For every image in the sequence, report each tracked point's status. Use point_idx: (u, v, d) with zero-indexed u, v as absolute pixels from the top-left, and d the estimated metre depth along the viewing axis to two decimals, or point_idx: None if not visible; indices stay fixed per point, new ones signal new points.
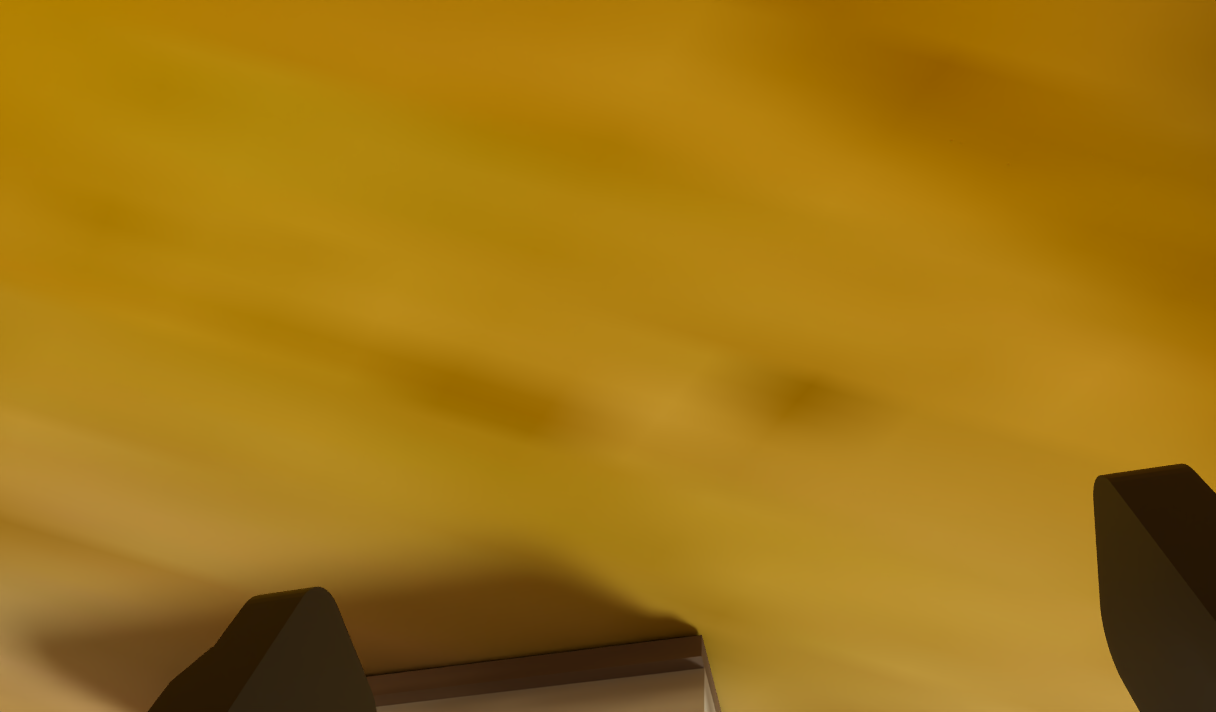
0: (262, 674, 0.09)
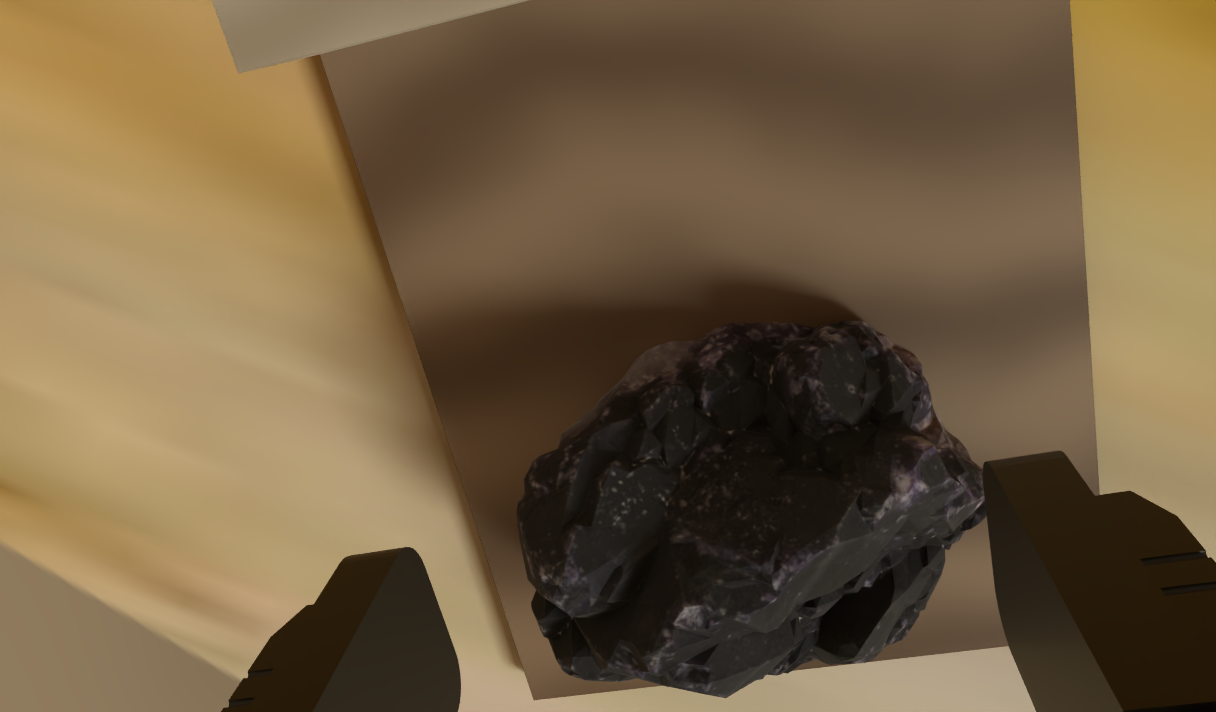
0: (367, 626, 0.09)
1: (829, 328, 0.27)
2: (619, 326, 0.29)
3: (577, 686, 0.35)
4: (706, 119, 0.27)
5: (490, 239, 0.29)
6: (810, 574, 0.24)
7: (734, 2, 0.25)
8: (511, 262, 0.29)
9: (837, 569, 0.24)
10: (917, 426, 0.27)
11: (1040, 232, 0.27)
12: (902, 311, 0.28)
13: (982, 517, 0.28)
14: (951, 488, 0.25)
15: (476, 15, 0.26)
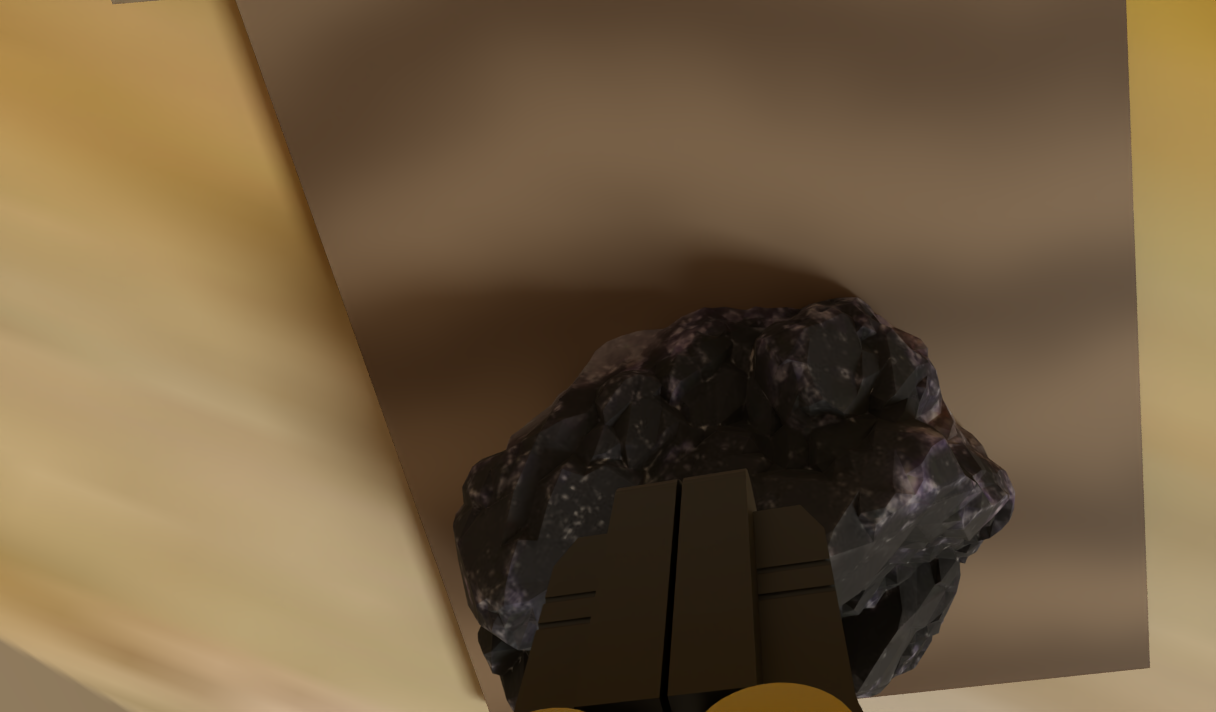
0: (673, 550, 0.09)
1: (818, 305, 0.23)
2: (589, 315, 0.25)
3: None
4: (688, 70, 0.23)
5: (439, 213, 0.25)
6: None
7: None
8: (462, 240, 0.25)
9: None
10: (923, 418, 0.23)
11: (1082, 204, 0.23)
12: (918, 298, 0.24)
13: (1003, 524, 0.24)
14: (966, 488, 0.21)
15: None
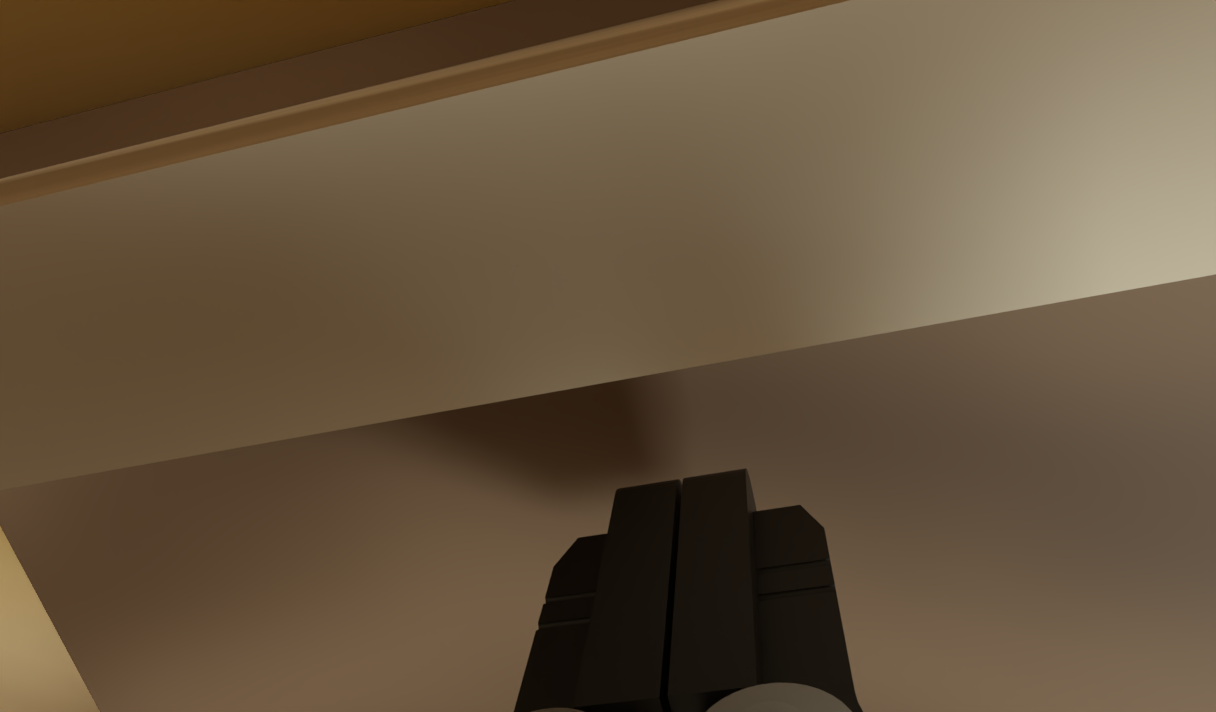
0: (673, 550, 0.09)
1: None
2: None
3: None
4: None
5: (298, 699, 0.14)
6: None
7: None
8: None
9: None
10: None
11: None
12: None
13: None
14: None
15: None
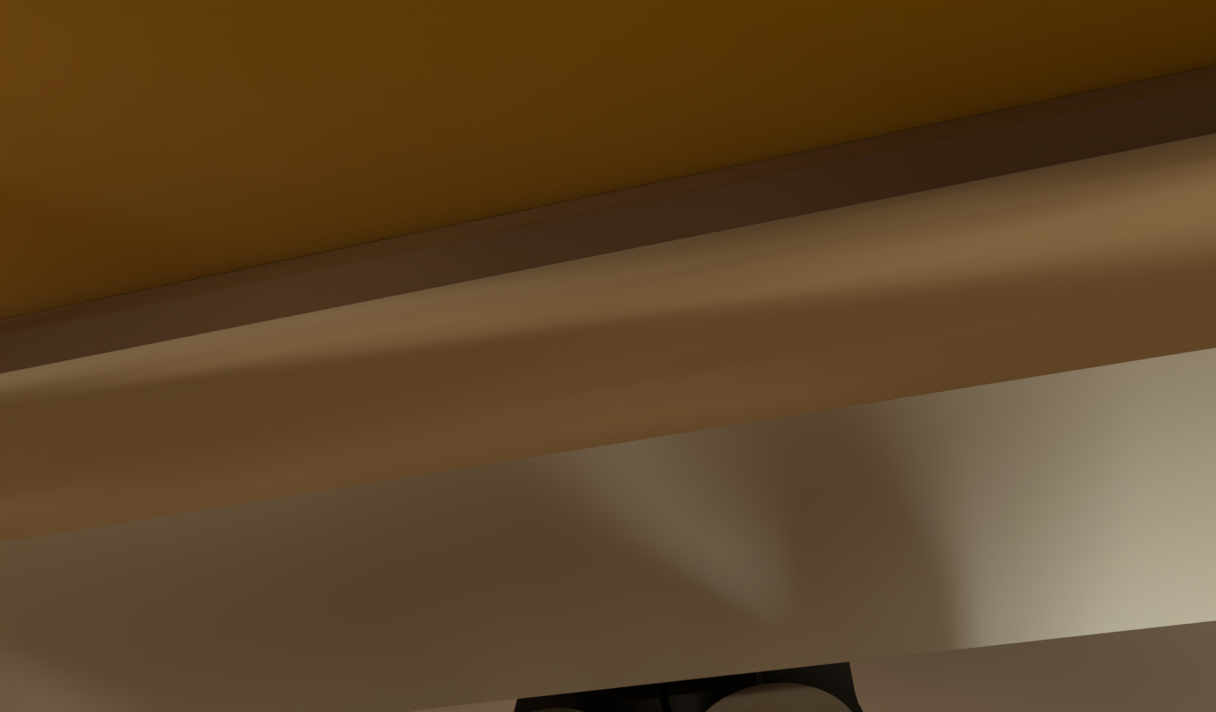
0: None
1: None
2: None
3: None
4: None
5: None
6: None
7: None
8: None
9: None
10: None
11: None
12: None
13: None
14: None
15: None
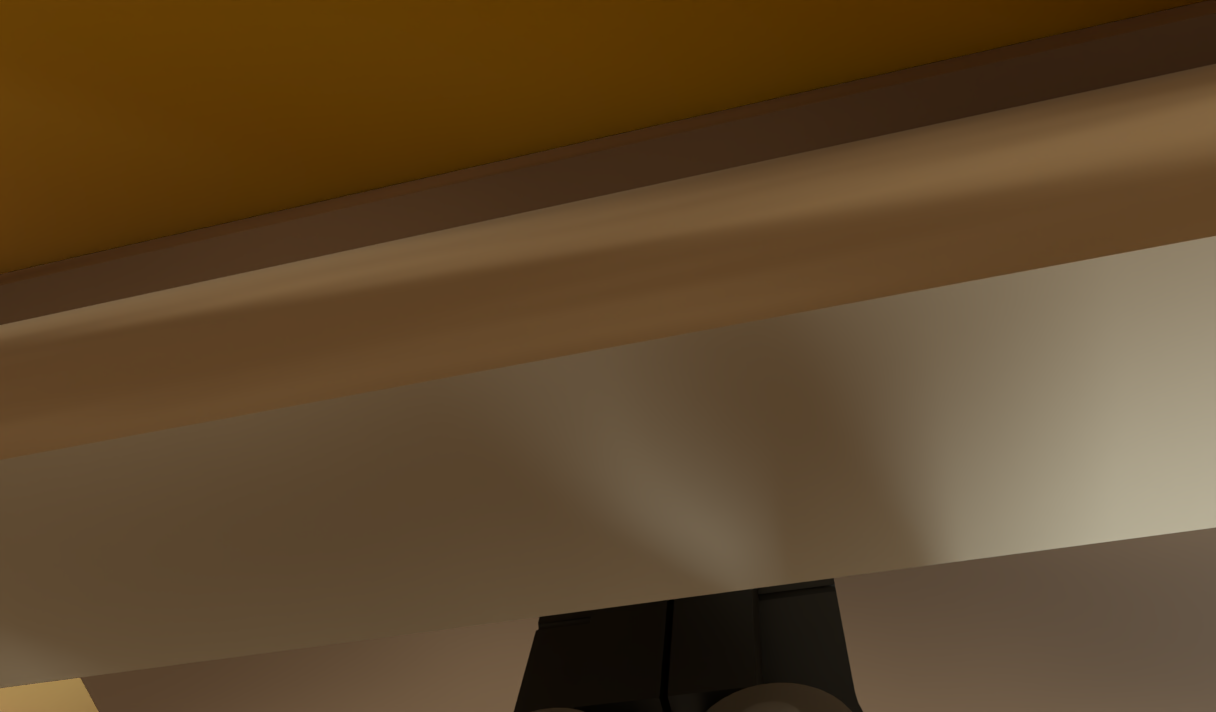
0: None
1: None
2: None
3: None
4: None
5: None
6: None
7: None
8: None
9: None
10: None
11: None
12: None
13: None
14: None
15: None
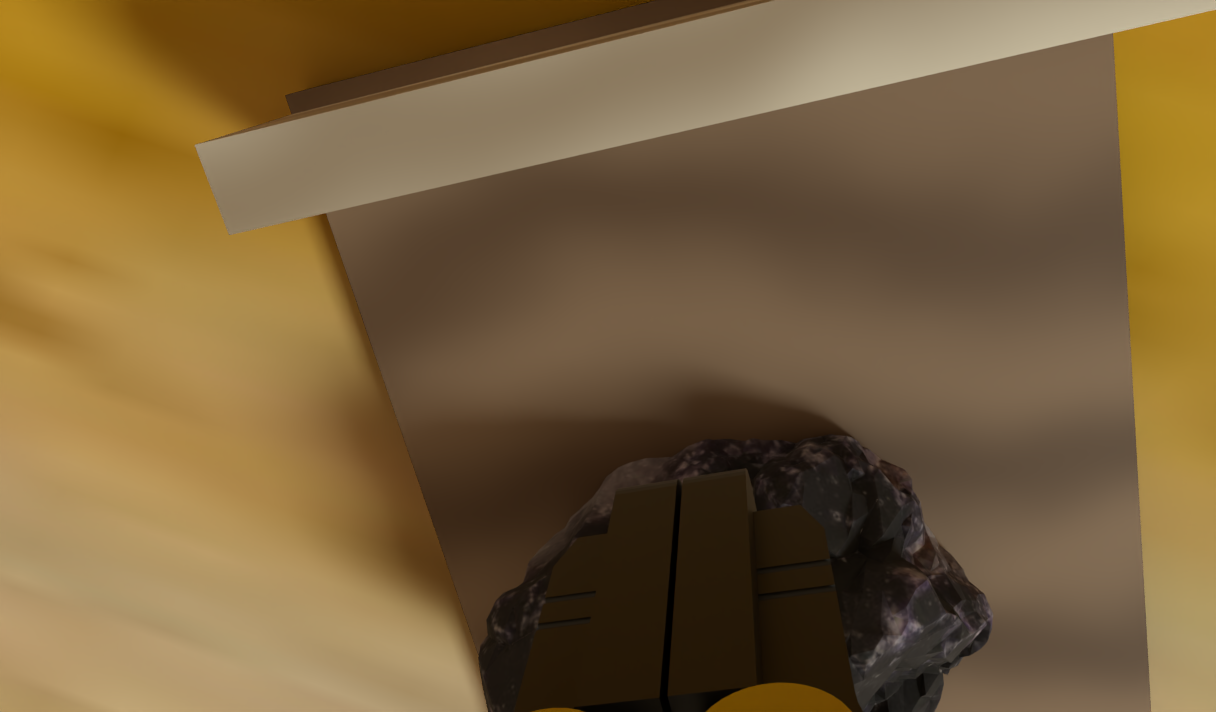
0: (674, 549, 0.09)
1: (811, 445, 0.26)
2: None
3: None
4: (728, 258, 0.25)
5: (499, 378, 0.27)
6: None
7: (759, 141, 0.24)
8: (520, 401, 0.27)
9: None
10: (908, 549, 0.25)
11: (1085, 377, 0.25)
12: (937, 456, 0.26)
13: (982, 644, 0.26)
14: (947, 623, 0.23)
15: None
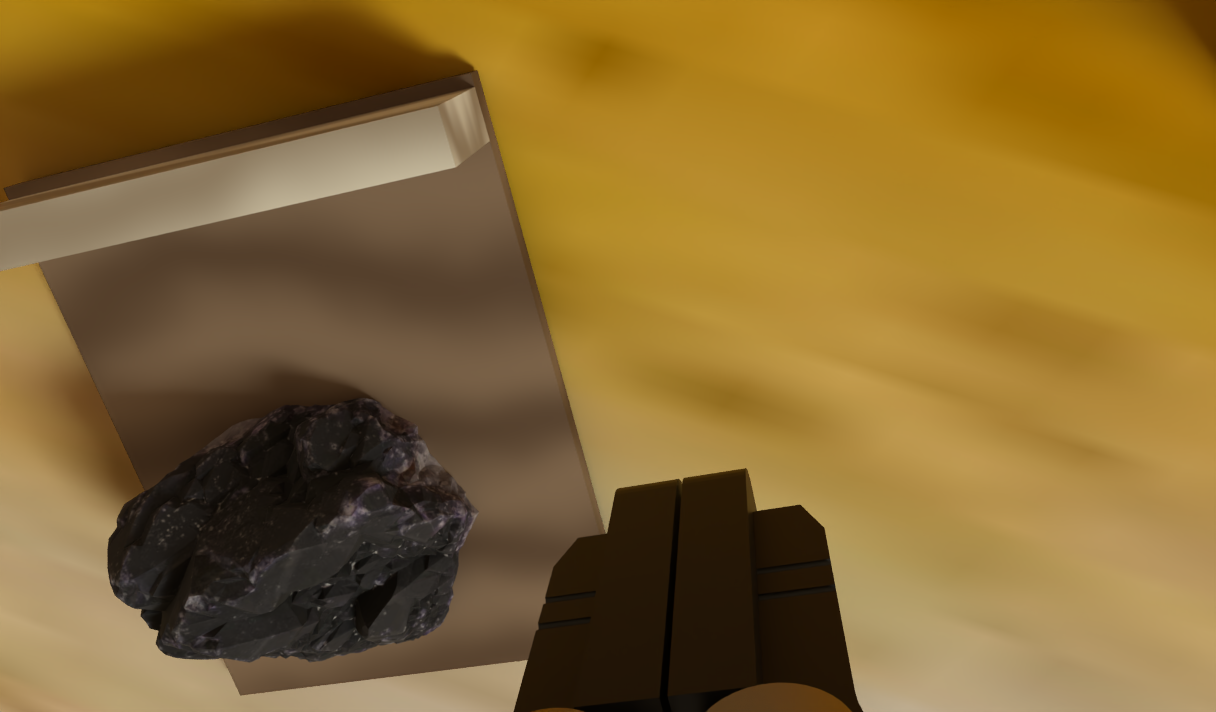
0: (673, 550, 0.09)
1: (338, 404, 0.39)
2: None
3: (269, 685, 0.47)
4: (293, 293, 0.39)
5: (162, 370, 0.41)
6: (280, 572, 0.36)
7: (298, 220, 0.38)
8: (178, 385, 0.41)
9: (308, 569, 0.36)
10: (397, 470, 0.39)
11: (526, 370, 0.39)
12: (446, 422, 0.40)
13: (454, 532, 0.40)
14: (396, 512, 0.37)
15: None
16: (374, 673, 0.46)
